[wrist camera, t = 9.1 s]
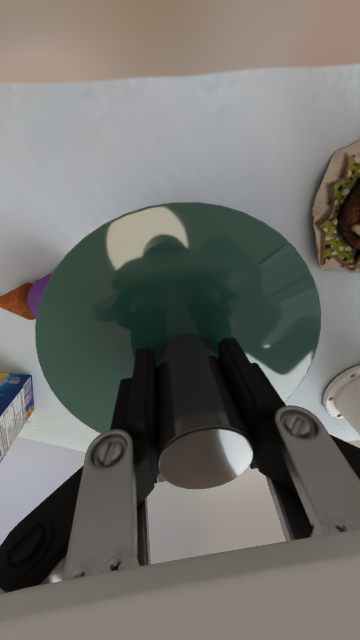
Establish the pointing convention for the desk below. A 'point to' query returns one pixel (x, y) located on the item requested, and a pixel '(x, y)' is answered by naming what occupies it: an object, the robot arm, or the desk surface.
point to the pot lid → (178, 327)
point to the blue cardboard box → (14, 407)
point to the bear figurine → (339, 212)
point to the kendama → (25, 298)
